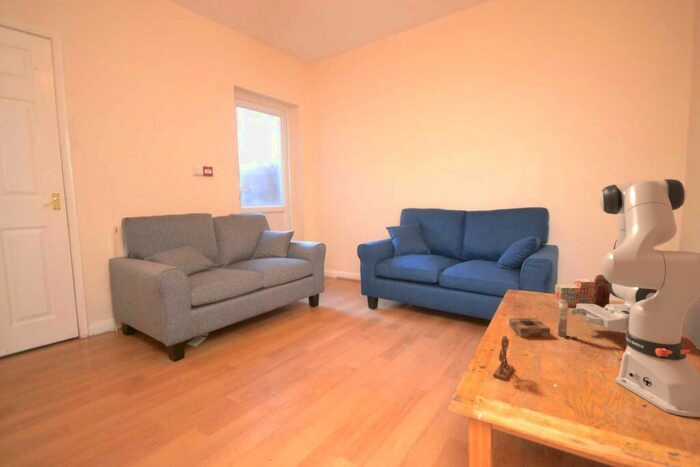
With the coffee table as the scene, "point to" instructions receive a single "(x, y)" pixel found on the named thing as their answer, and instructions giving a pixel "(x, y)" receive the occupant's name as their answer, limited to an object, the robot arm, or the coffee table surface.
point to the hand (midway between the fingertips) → (578, 315)
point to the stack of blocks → (575, 292)
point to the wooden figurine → (600, 291)
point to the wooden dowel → (562, 318)
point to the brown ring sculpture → (503, 362)
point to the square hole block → (529, 327)
